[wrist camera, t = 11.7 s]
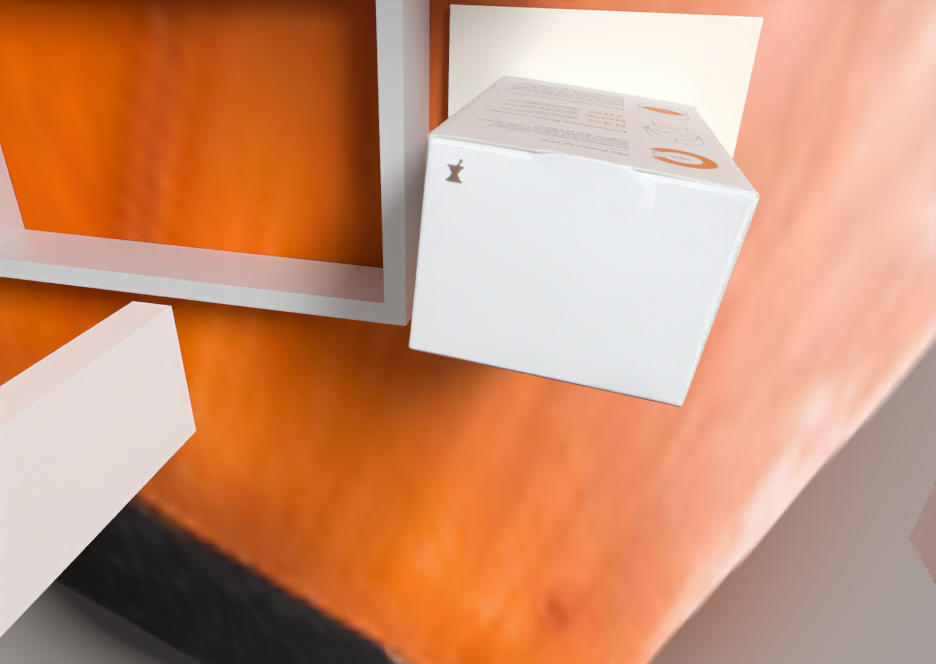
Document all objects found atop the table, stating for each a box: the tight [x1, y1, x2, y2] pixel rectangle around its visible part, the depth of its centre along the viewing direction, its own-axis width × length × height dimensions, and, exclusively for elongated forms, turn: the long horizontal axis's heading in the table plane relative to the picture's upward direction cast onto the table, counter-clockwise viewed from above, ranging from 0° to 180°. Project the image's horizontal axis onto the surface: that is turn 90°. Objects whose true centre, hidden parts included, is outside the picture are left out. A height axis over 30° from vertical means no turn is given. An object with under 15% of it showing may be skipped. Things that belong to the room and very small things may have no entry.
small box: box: [409, 76, 760, 407], centre depth 22 cm, size 8×6×13 cm
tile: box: [448, 4, 764, 159], centre depth 28 cm, size 12×12×1 cm
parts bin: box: [0, 0, 430, 326], centre depth 29 cm, size 24×16×4 cm, turn 87°
